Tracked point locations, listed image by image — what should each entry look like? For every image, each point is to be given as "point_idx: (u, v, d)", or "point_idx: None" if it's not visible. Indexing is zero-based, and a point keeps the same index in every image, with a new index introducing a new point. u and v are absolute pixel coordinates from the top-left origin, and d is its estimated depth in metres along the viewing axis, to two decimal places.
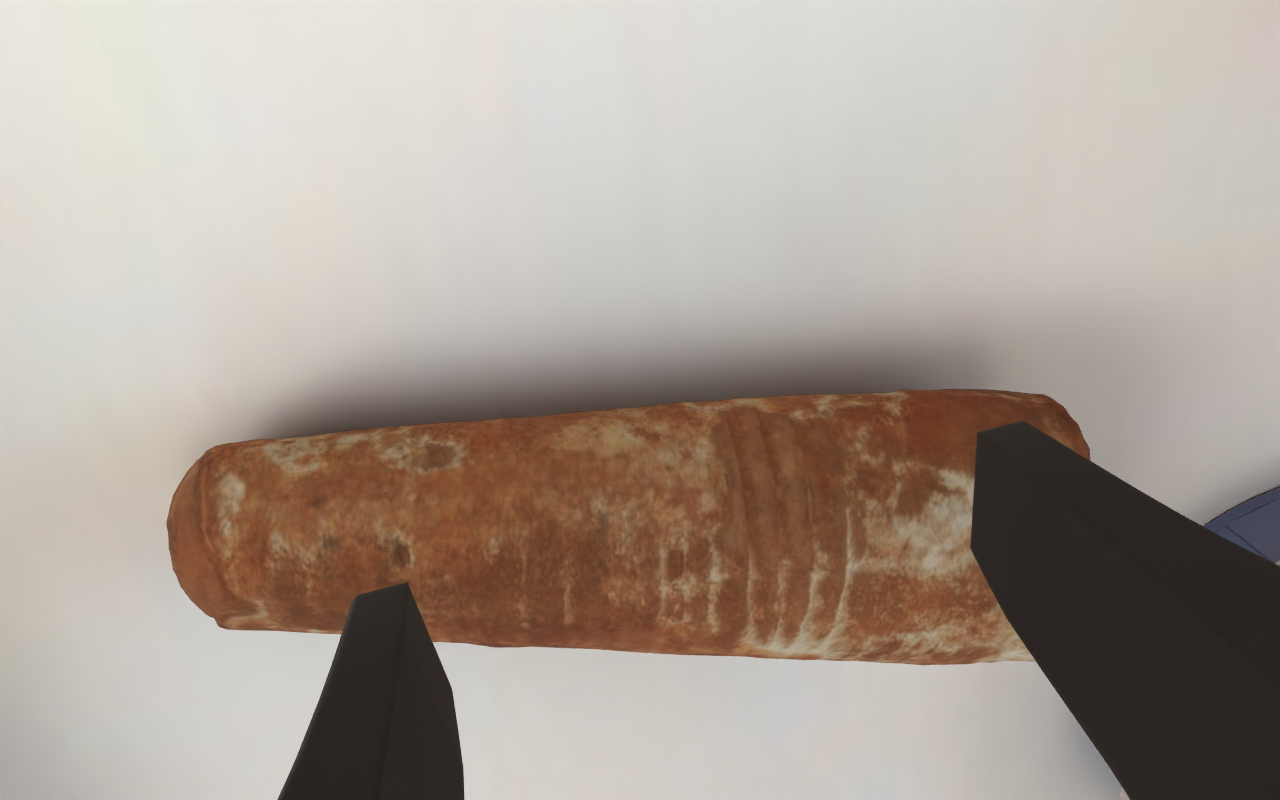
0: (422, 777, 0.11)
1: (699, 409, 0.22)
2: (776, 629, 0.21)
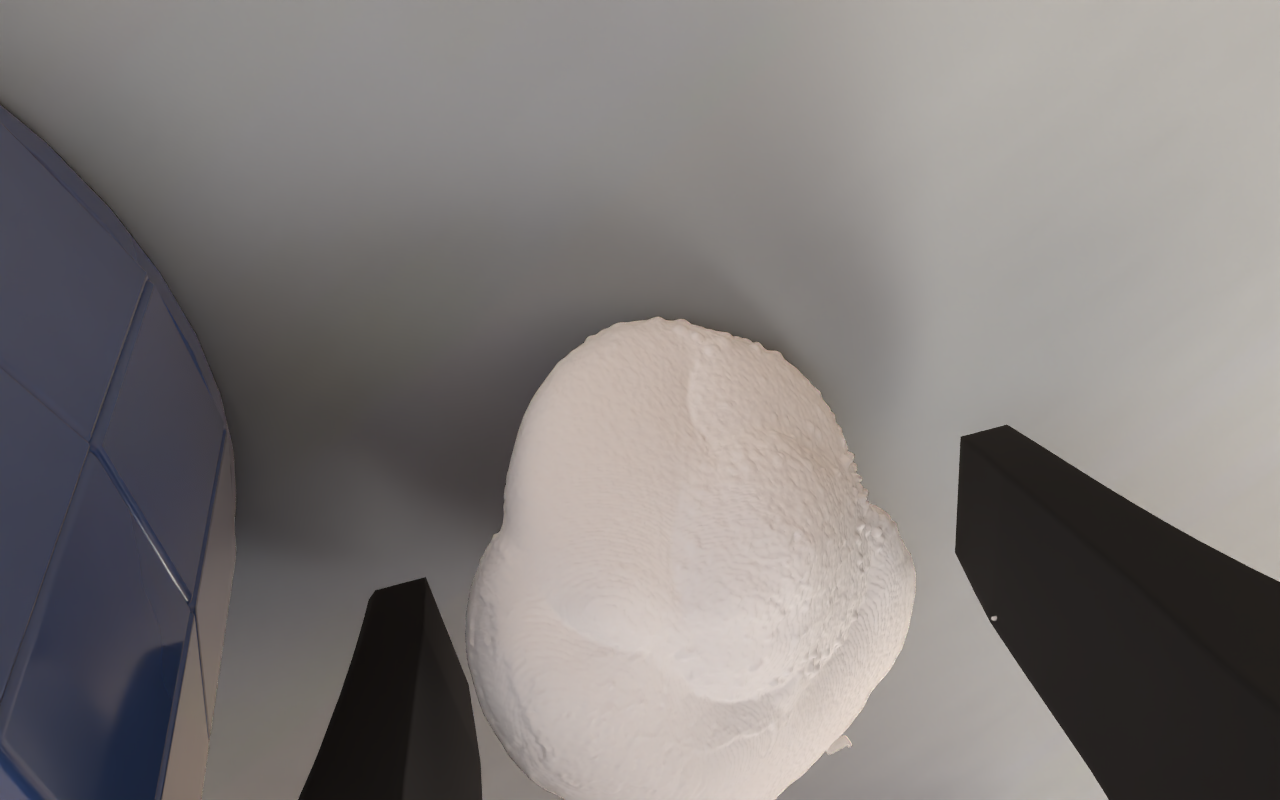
0: (442, 771, 0.11)
1: None
2: None
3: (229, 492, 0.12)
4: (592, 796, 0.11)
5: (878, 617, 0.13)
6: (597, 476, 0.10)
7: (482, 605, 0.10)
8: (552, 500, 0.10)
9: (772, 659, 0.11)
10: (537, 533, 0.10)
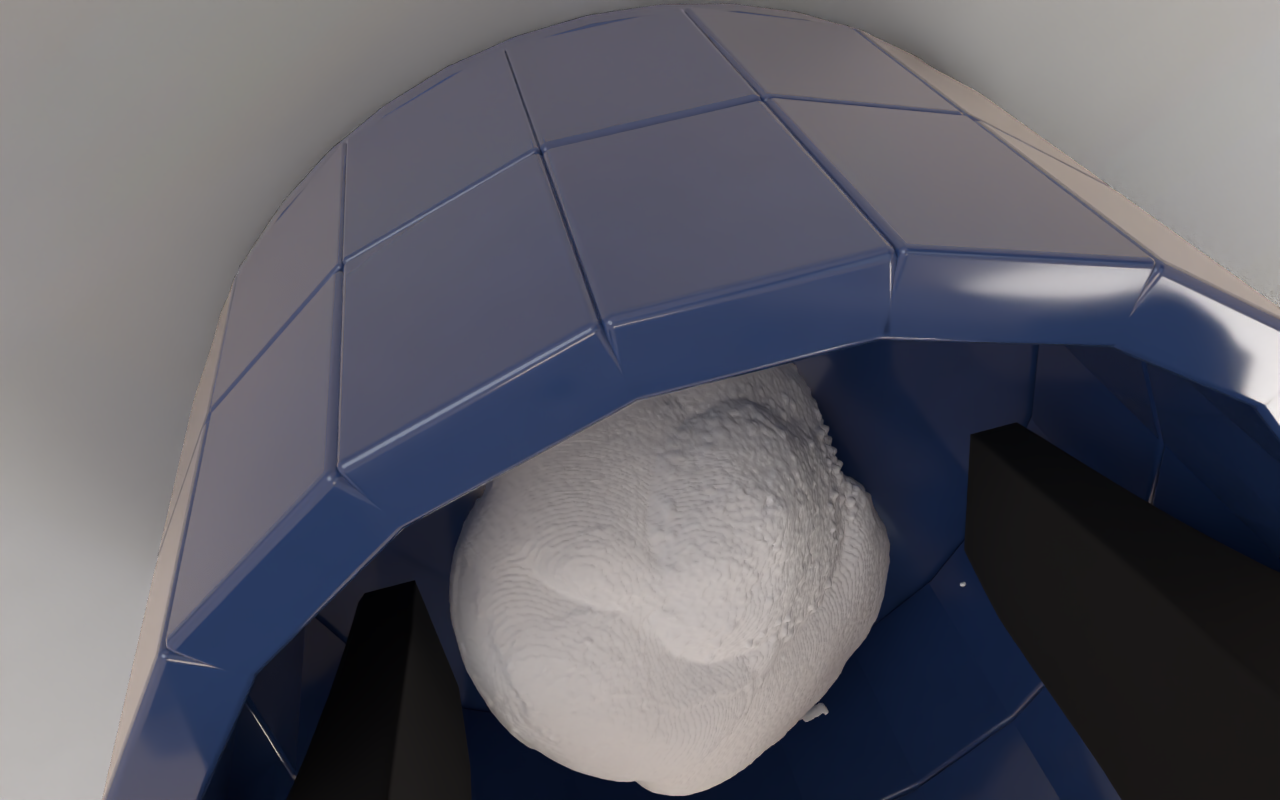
0: (430, 775, 0.11)
1: None
2: None
3: None
4: (572, 751, 0.11)
5: (852, 585, 0.13)
6: (575, 441, 0.11)
7: (465, 565, 0.11)
8: (531, 462, 0.11)
9: (746, 620, 0.12)
10: (518, 495, 0.11)
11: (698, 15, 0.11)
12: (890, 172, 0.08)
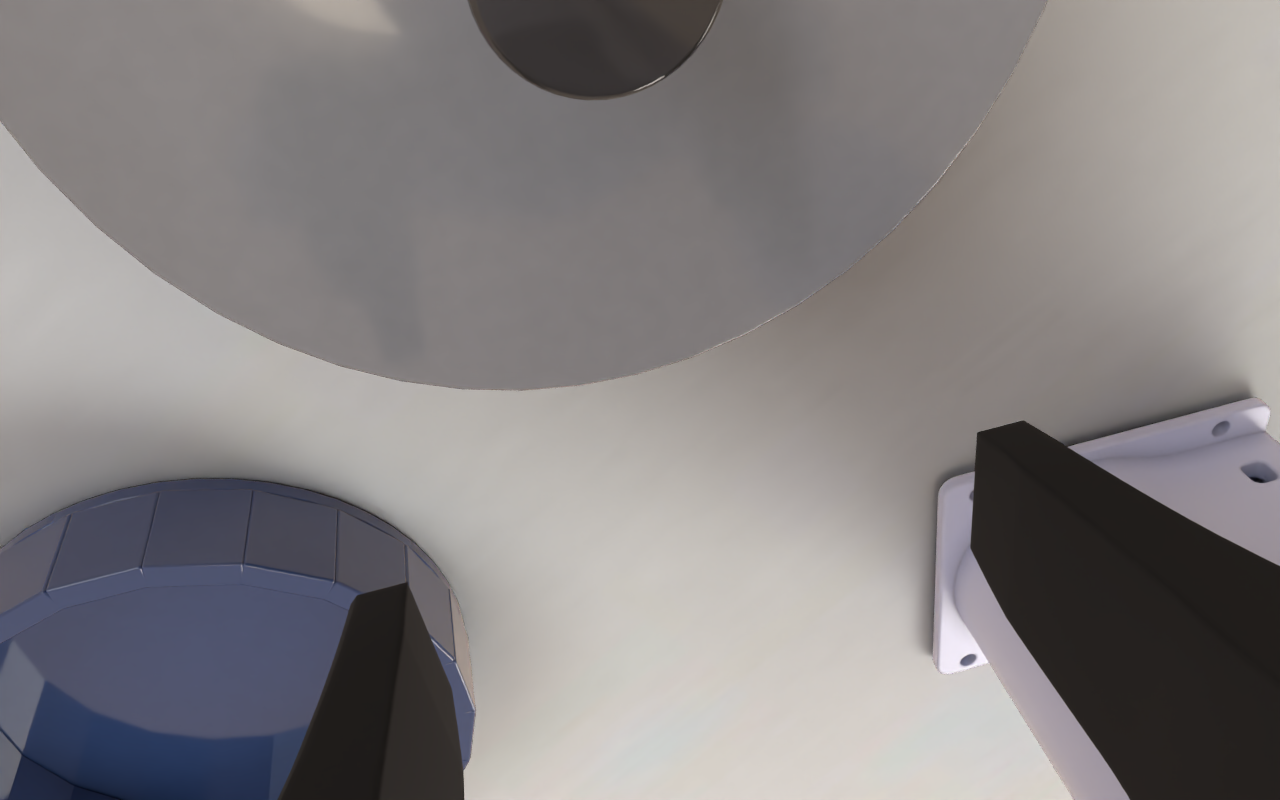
0: (422, 777, 0.11)
1: None
2: None
3: None
4: None
5: None
6: None
7: None
8: None
9: None
10: None
11: None
12: None
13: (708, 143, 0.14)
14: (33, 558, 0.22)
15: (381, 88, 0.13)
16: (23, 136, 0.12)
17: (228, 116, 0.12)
